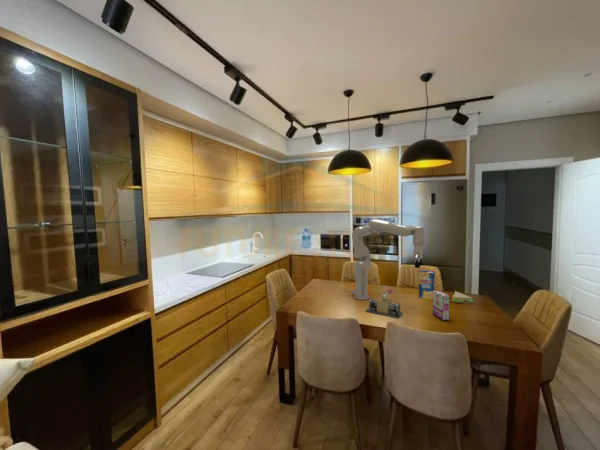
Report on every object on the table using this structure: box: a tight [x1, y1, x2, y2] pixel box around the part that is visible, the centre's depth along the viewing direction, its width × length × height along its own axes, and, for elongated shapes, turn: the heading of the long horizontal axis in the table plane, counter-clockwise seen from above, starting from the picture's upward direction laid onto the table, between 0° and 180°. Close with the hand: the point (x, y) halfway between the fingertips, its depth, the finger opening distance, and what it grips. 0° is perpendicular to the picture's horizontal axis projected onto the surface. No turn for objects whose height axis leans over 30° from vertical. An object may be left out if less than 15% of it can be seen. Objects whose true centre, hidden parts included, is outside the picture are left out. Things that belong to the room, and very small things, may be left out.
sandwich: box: [450, 290, 474, 304], centre depth 206 cm, size 15×20×5 cm
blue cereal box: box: [418, 269, 436, 301], centre depth 212 cm, size 7×11×22 cm, turn 56°
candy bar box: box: [432, 290, 451, 321], centre depth 175 cm, size 11×5×16 cm, turn 5°
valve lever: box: [381, 288, 394, 299], centre depth 190 cm, size 18×3×2 cm, turn 144°
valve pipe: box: [365, 297, 404, 319], centre depth 184 cm, size 23×11×11 cm, turn 54°
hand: (418, 266), depth 189 cm, fingers open, 9 cm apart
